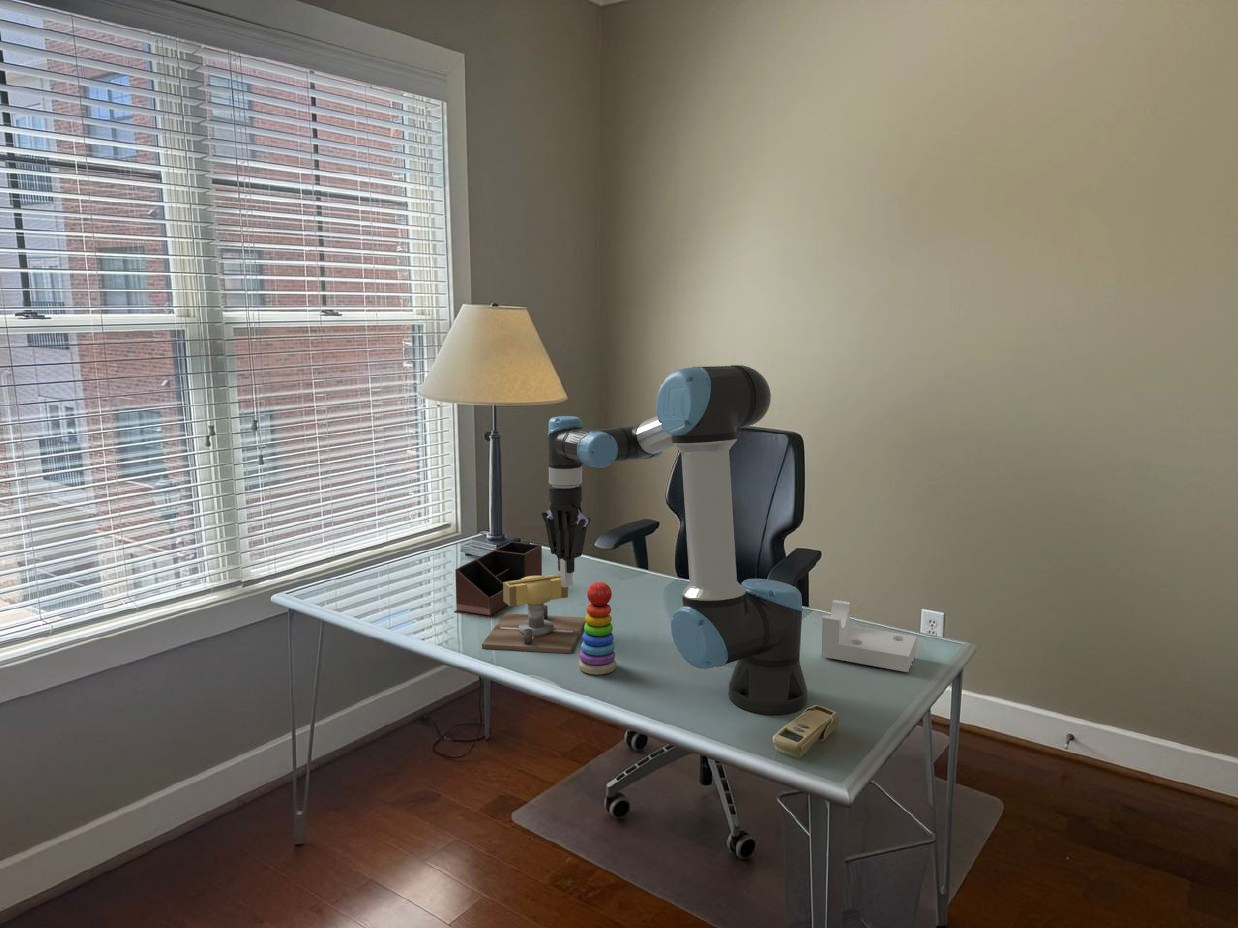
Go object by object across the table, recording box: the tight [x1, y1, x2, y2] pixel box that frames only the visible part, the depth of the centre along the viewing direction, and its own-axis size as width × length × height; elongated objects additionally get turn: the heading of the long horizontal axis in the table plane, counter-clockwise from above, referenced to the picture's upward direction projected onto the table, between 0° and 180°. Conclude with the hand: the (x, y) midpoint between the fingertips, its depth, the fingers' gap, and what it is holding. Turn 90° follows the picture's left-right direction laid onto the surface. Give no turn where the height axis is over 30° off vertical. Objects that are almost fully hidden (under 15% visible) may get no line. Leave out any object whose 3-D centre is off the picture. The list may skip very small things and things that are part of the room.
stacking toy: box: [577, 581, 617, 676], centre depth 185 cm, size 8×8×19 cm
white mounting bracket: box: [821, 599, 918, 673], centre depth 192 cm, size 18×10×10 cm, turn 63°
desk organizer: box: [453, 541, 543, 619], centre depth 231 cm, size 10×29×11 cm, turn 158°
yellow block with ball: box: [503, 573, 569, 607], centre depth 204 cm, size 14×7×5 cm, turn 117°
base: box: [481, 603, 586, 654], centre depth 205 cm, size 20×20×8 cm
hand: (566, 585), depth 205 cm, fingers closed
